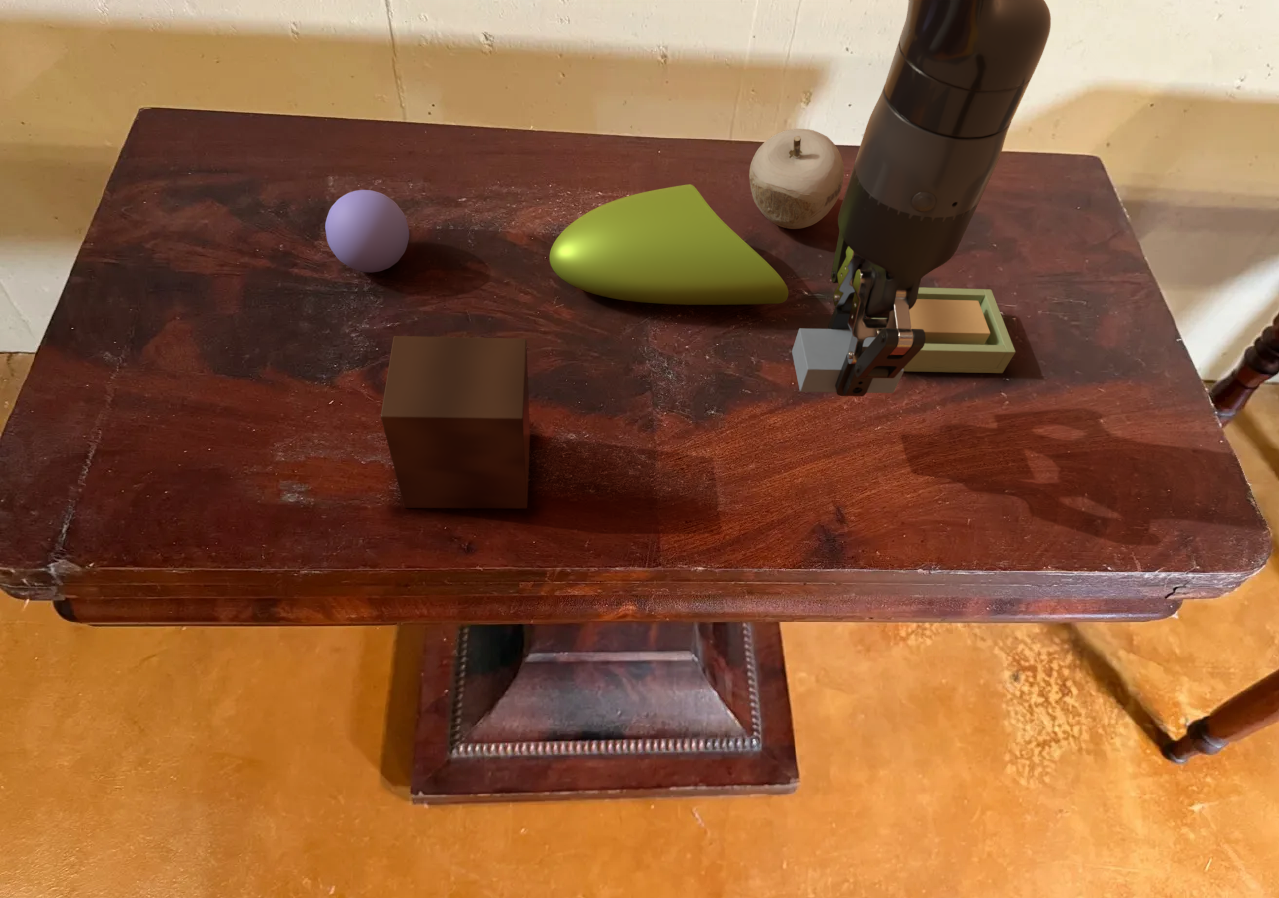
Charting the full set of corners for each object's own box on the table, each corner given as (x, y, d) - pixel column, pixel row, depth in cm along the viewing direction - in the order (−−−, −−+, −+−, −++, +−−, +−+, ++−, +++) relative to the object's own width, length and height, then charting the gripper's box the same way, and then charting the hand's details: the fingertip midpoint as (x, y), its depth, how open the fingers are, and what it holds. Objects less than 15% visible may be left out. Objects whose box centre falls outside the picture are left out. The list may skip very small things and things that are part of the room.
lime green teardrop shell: (765, 155, 78) (539, 178, 76) (796, 269, 73) (555, 296, 72) (752, 213, 85) (545, 235, 84) (779, 321, 80) (560, 346, 79)
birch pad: (968, 320, 81) (978, 300, 79) (979, 352, 78) (990, 333, 76) (893, 318, 80) (902, 298, 78) (902, 351, 78) (912, 331, 76)
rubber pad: (882, 353, 67) (892, 329, 65) (893, 393, 65) (904, 370, 63) (791, 351, 66) (798, 327, 64) (799, 392, 64) (807, 369, 62)
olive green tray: (979, 311, 82) (991, 289, 80) (1002, 373, 78) (1016, 352, 76) (868, 308, 81) (877, 286, 79) (885, 371, 77) (895, 349, 75)
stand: (530, 433, 70) (526, 338, 61) (527, 509, 66) (522, 418, 57) (414, 432, 69) (393, 335, 60) (404, 508, 65) (380, 416, 56)
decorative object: (834, 202, 90) (861, 115, 82) (822, 258, 85) (850, 170, 77) (749, 183, 91) (767, 94, 83) (732, 237, 86) (751, 148, 78)
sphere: (346, 297, 77) (329, 235, 71) (325, 246, 81) (307, 183, 75) (424, 277, 79) (414, 215, 74) (400, 228, 83) (389, 165, 77)
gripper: (1018, 256, 48) (914, 446, 61) (951, 104, 56) (873, 301, 70) (883, 252, 47) (808, 445, 61) (835, 99, 55) (779, 299, 69)
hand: (843, 367), depth 65 cm, fingers closed on rubber pad, 4 cm apart
